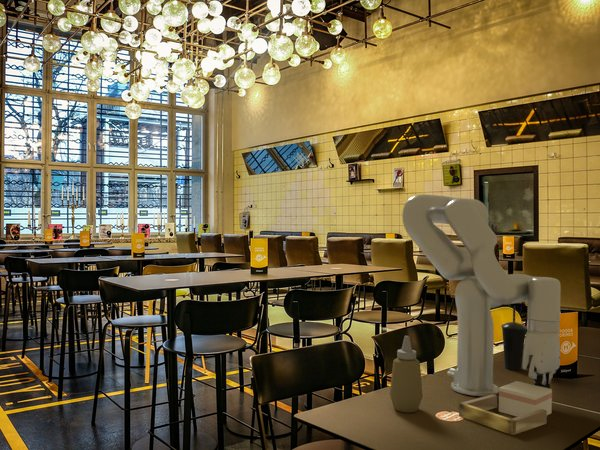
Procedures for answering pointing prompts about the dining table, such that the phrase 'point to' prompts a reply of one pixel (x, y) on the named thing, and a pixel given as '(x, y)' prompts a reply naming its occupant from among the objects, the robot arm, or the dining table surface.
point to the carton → (524, 399)
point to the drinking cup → (513, 343)
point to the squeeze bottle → (406, 379)
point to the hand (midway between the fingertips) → (541, 398)
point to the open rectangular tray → (479, 414)
